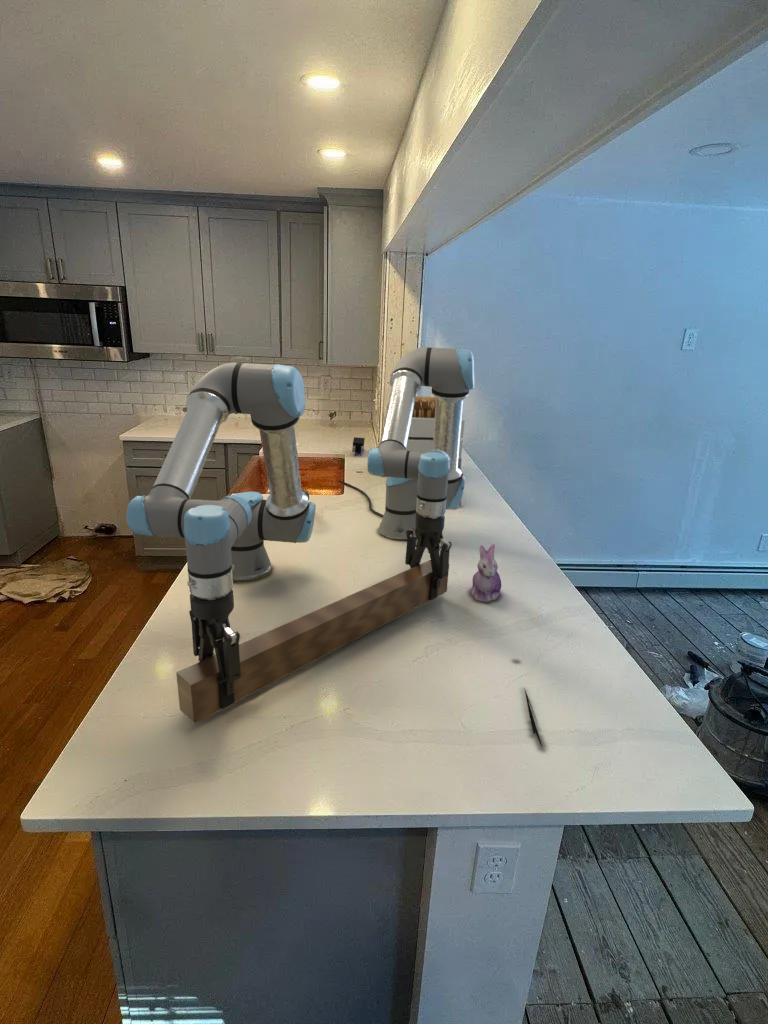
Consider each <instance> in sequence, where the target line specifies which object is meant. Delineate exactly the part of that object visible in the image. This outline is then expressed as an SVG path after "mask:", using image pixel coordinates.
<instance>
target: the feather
mask: <svg viewBox="0 0 768 1024" xmlns="http://www.w3.org/2000/svg"><path fill="white" fill-rule="evenodd" d="M515 661H516V662H517V659H515ZM523 690H524V694H525V699H526V705H527V710H528V716H529V721H530V724H531V728H532V733H533V735H536V737H537V740H538V742H539V744H540V746H541V747H543V744H544V743H543V744H542V741H541V738H542V736H543V735H541V736H540V735H539V734H540V733H539V732H541V729H538V727H537V724H536V721H537V715H535V711H534V708H533V707H532V703H531V701H530V698H529V696H528V694H527V691H526V688H525V687H523ZM540 737H541V738H540ZM542 740H544V739H542ZM544 746H545V744H544Z"/></svg>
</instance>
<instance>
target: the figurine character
mask: <svg viewBox="0 0 768 1024" xmlns="http://www.w3.org/2000/svg"><path fill="white" fill-rule="evenodd" d="M364 446H365V437H357V436H354V437H353V439H352V450H351V451H352V453H354V456H357V455H359V456H362V453H364V451H365V447H364Z"/></svg>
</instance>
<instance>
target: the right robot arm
mask: <svg viewBox="0 0 768 1024" xmlns="http://www.w3.org/2000/svg"><path fill="white" fill-rule="evenodd" d="M474 360H475V359H474V354H473V352H472V351H471V350H469V349H461V348H459V347H458V348H457V347H455V348H453V347H428V346H420V347H416V348H414V349H412V350H410V351H409V352H407V353H405V354H404V355H403V356H402V357H401V358H400V359H399V360H398V361H397V363H396V364H395V365H394V367H393V369H392V372H391V375H390V379H389V384H390V387H391V390H390V394H389V399H388V404H387V405H388V408H387V407H386V413H385V416H384V422H383V427H382V431H381V436H380V440H379V444H378V447H371V448H370V449H369V451H368V455H367V461H366V462H367V464H366V465H367V466H366V467H367V472H368V474H369V475H371V476H376V477H382V478H386V482H385V504H384V505H385V507H384V508H385V509H384V513H383V514H382V513H380V512H378V511H376V510H375V509H373V507H372V502H371V498H370V496H369V495H368V494H367V493H366V492H365V491H363V490H362V489H360V488H359V487H357V486H354V485H352V484H350V483H347V482H345V481H344V480H343V481H342V480H340V479H338V483H340V484H343V485H345V486H347V487H349V488H352V489H354V490H356V491H358V492H360V493H361V494H362V495H364V497H366V499H367V501H368V507H369V511H370V512H372V513H373V514H374V515H377V516H379V517H381V518H382V519H381V522H379V527H378V533H379V534H380V535H381V536H382V537H385V538H387V539H389V540H395V541H406V547H405V560H404V562H405V565H408V566H409V567H410V568H409V569H411V568H413V567H415V566H417V565H420V564H421V562H422V559H423V556H424V552H425V549H427V553H428V554H429V558H430V559H429V560H431V566H432V573H433V577H431V578H430V588H429V600H430V601H429V602H431V601H433V600H435V599H437V598H438V597H437V593H438V589H439V588H440V583H441V579H442V578H444V577H446V576H448V577H449V572H448V567H449V568H450V550H451V548H452V545H453V542H451V541H447V540H445V538H444V535H443V531H444V528H445V519H446V518H445V517H446V516H445V514H446V511H448V510H451V511H452V510H453V511H454V510H455V511H456V510H457V509H459V508H460V507H461V506H460V503H461V504H462V499H463V494H464V489H465V484H466V477H465V476H464V475H463V476H461V475H462V473H463V472H462V469H461V470H460V469H459V468H458V457H459V445H460V439H461V438H460V433H461V421H462V419H463V408H464V400H465V398H467V397H468V396H469V394H470V391H471V390H473V389H475V361H474ZM422 387H430V388H431V394H432V396H433V397H436V406H435V423H434V439H433V451H431V452H417V451H406V448H407V443H408V437H409V432H410V426H411V421H412V416H413V410H414V405H415V399H416V397H417V394H418V392H419V391H420V390H421V389H422Z"/></svg>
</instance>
